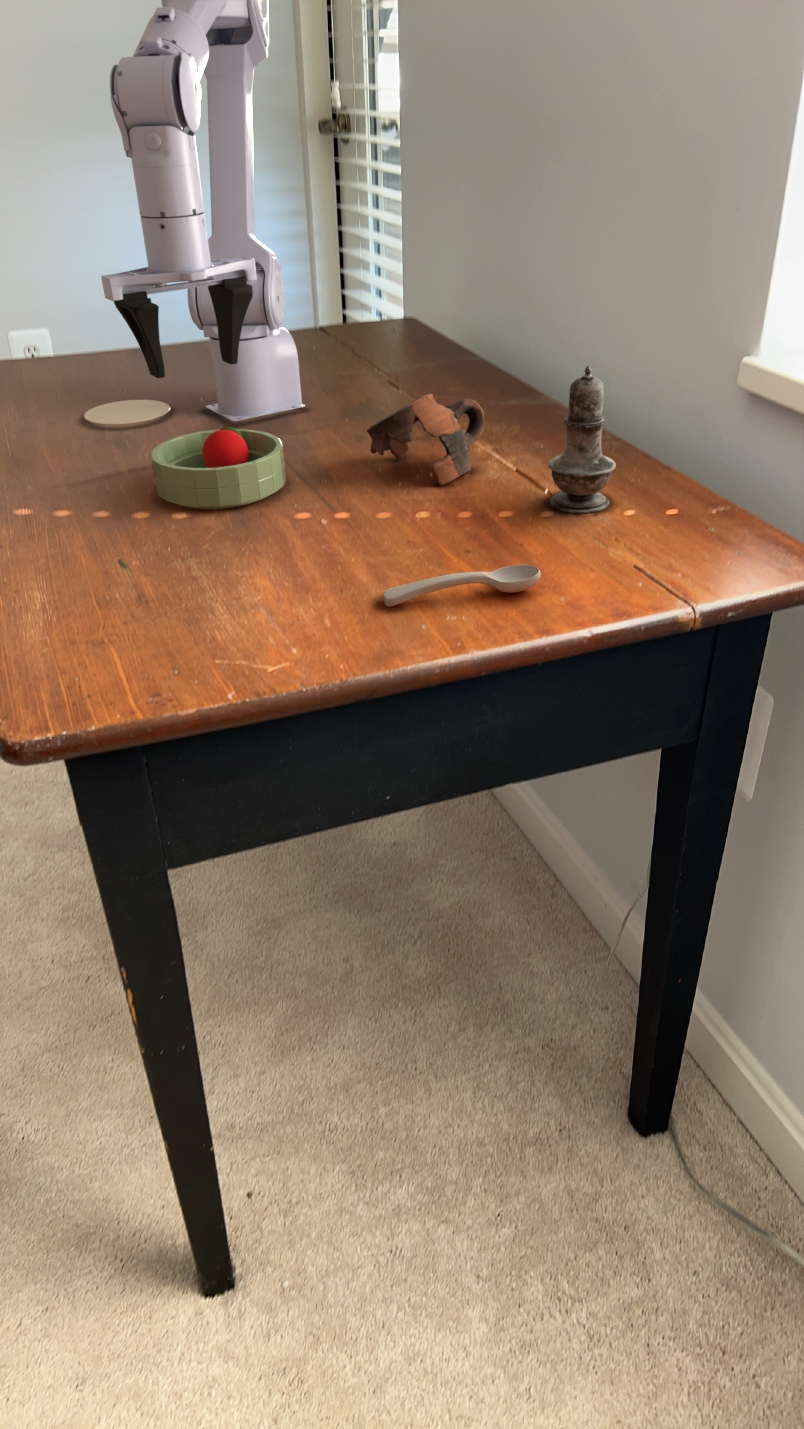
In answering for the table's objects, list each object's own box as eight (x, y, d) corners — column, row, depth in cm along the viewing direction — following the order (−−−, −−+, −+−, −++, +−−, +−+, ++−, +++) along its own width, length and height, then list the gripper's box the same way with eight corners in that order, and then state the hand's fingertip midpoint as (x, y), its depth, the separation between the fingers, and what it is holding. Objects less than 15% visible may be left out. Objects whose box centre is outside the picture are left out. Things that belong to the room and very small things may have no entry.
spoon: (546, 593, 75) (545, 568, 74) (389, 620, 74) (386, 596, 73) (534, 576, 78) (534, 553, 77) (383, 603, 77) (379, 579, 76)
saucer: (151, 399, 125) (150, 394, 125) (184, 417, 118) (183, 412, 118) (72, 414, 121) (71, 409, 120) (102, 434, 114) (101, 429, 113)
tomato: (216, 491, 99) (225, 458, 102) (252, 478, 97) (261, 445, 100) (188, 459, 96) (199, 426, 99) (225, 445, 94) (235, 412, 97)
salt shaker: (540, 492, 93) (546, 359, 87) (603, 489, 94) (613, 355, 87) (554, 516, 88) (561, 376, 82) (620, 512, 89) (632, 372, 82)
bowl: (250, 459, 104) (246, 421, 102) (309, 492, 96) (305, 450, 93) (138, 485, 99) (131, 445, 97) (189, 522, 90) (183, 479, 88)
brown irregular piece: (423, 500, 94) (380, 419, 92) (384, 514, 103) (344, 440, 101) (519, 442, 98) (480, 363, 96) (474, 460, 106) (437, 388, 104)
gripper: (111, 226, 85) (139, 390, 92) (264, 209, 91) (279, 363, 99) (82, 219, 90) (111, 375, 97) (230, 203, 96) (246, 351, 104)
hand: (194, 368), depth 98 cm, fingers open, 7 cm apart
